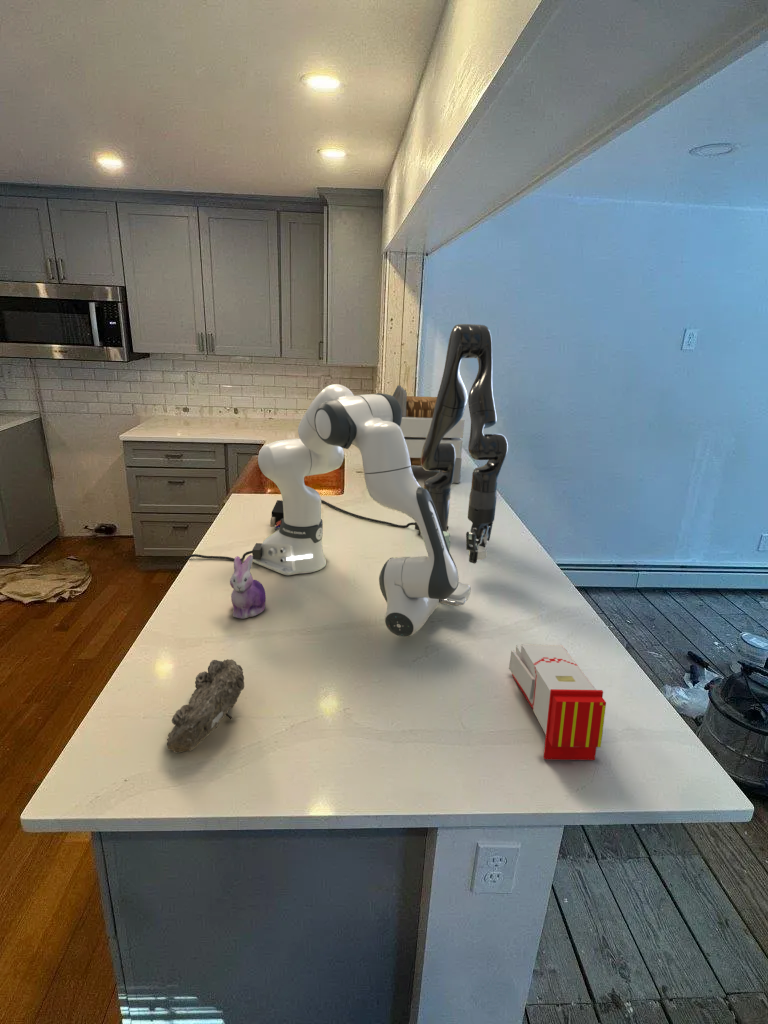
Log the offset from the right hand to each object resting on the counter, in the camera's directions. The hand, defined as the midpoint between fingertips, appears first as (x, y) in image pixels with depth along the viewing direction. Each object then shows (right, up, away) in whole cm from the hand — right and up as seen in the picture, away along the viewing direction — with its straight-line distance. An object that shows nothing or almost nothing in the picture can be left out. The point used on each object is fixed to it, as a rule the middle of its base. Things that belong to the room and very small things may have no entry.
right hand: (476, 559), depth 165 cm
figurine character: (-63, +9, +37) cm, 74 cm away
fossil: (-60, -25, -57) cm, 87 cm away
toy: (+6, -26, -51) cm, 58 cm away
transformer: (-10, +33, +110) cm, 115 cm away
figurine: (-62, -12, -20) cm, 66 cm away
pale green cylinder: (-12, -10, -8) cm, 18 cm away
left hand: (-11, -4, -10) cm, 15 cm away
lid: (0, +3, -1) cm, 3 cm away
